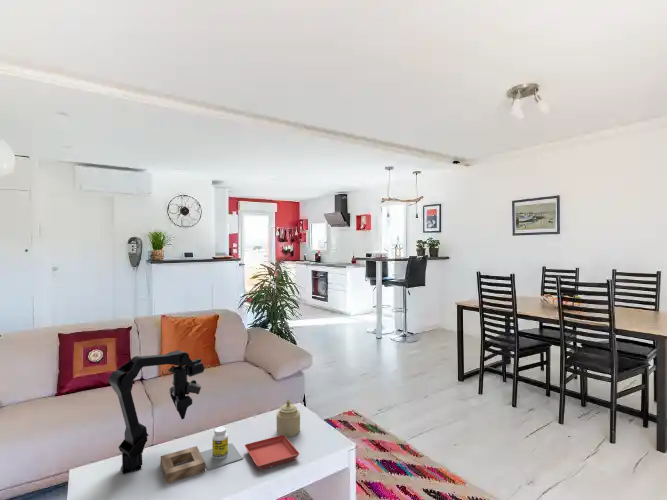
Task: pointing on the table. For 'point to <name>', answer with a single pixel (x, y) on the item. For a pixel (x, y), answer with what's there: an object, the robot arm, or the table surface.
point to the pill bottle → (220, 443)
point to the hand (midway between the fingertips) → (180, 414)
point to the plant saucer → (272, 451)
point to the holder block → (186, 469)
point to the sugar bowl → (288, 420)
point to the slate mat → (214, 463)
